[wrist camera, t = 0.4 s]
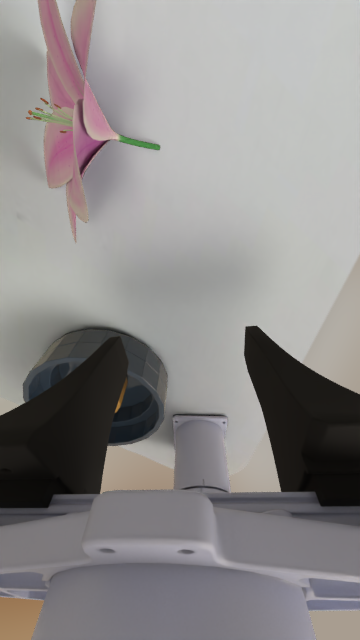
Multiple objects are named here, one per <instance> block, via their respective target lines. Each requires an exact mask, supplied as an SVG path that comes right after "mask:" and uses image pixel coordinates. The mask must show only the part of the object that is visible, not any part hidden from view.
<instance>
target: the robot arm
mask: <svg viewBox="0 0 360 640" xmlns="http://www.w3.org/2000/svg"><path fill="white" fill-rule="evenodd" d="M244 356H245V360H246V365H247V369H248V372H249V375H250V378H251V381H252V383H253V386H254V389H255V391H256V394H257V397H258V399H259V402H260V405H261V408H262V411H263V415H264V419H265V422H266V426H267V430H268V434H269V438H270V442H271V447H272V451H273V455H274V460H275V464H276V468H277V473H278V478H279V483H280V487H281V492H245V493H231V488H230V480H229V473H228V465H227V458H226V450H225V443H224V441H225V435H226V429H227V423H228V418H227V417H226V416H180V415H176V416H173V431H174V447H175V469H174V490H115V491H107V492H103V493H102V494H100V490H101V482H102V475H103V469H104V462H105V457H106V451H107V446H108V440H109V435H110V431H111V426H112V421H113V417H114V414H115V410H116V407H117V404H118V401H119V398H120V395H121V392H122V389H123V386H124V383H125V380H126V376H127V371H128V365H129V361H128V358H127V355H126V352H125V348H124V345H123V342H122V339H121V336H117V337H110V338H109V339H108V340H107V341H105V342H104V343H103V344H102V345H101V346H100V347H99V348H98V349H97V350H96V351H95V352H94V353H93V354H92V355H91V356H90V357H88V358H87V359H86V360H85V361H84V362H83V363H82V364H80V365H79V366H78V367H77V368H76V369H75V370H73V371H72V372H71V373H70V374H68V375H67V376H66V377H65V378H63V379H62V380H60V381H59V382H58V383H56V384H55V385H53V386H52V387H50V388H49V389H47V390H46V391H44V392H43V393H41V394H39V395H38V396H36V397H35V398H33V399H31V400H29V401H28V402H26V403H24V404H22V405H20V406H19V407H17V408H15V409H13V410H11V411H9V412H7V413H5V414H3V415H1V416H0V597H10V598H22V599H34V600H44V603H43V606H42V609H41V612H40V615H39V618H38V621H37V624H36V627H35V630H34V633H33V636H32V639H31V640H316V636H315V633H314V629H313V625H312V622H311V618H310V614H309V611H340V610H341V611H345V610H360V394H358V393H355V392H353V391H351V390H349V389H347V388H344V387H342V386H340V385H338V384H336V383H334V382H332V381H331V380H329V379H327V378H325V377H323V376H321V375H319V374H318V373H316V372H314V371H313V370H311V369H310V368H308V367H306V366H305V365H303V364H302V363H300V362H299V361H297V360H296V359H295V358H293V357H292V356H291V355H289V354H288V353H287V352H285V351H284V350H283V349H282V348H281V347H280V346H278V345H277V344H276V343H275V342H274V341H273V340H272V339H270V338H269V337H268V336H267V335H266V334H265V333H264V332H263V331H262V330H261V329H260V328H259V327H258V326H248V327H246V329H245V349H244Z"/></svg>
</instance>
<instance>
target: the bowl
mask: <svg viewBox="0 0 360 640" xmlns="http://www.w3.org/2000/svg"><path fill="white" fill-rule="evenodd" d="M117 336H121V339H122V342H123V345H124V348H125V352H126V355H127V358H128V361H129V365H128V371H127V381H128V383H127V386H126V390H125V393H124V396H123V400H122V403H121V406H120V408H119V409H118V411H117V412H116V413H115V414H114V417H113V421H112V426H111V431H110V435H109V440H108V446H118V445H126V444H133V443H135V442H138V441H141V440H144V439H146V438H148V437H149V436H151V435H152V434H153V433H155V432H156V431H157V430H158V429H159V427H160V425H161V423H162V422H163V420H164V415H165V405H166V395H167V373H166V371H165V368H164V366H163V364H162V362H161V360H160V359H159V358H158V357H157V356H156V355H155V354H154V353H153V352H152V350H151V349H150V348H149V347H147V346H145V345H144V344H142V343H140V342H139V341H137V340H135V339H134V338H132V337H130V336H127V335H123V334H120V333H117V332H113V331H110V330H109V331H108V330H94V329H85V330H81V331H76V332H72V333H68V334H66V335H64V336H63V337H61V338H60V339H58V340H57V341H55V342H54V343H53V344H52V345H51V346H50V347H49V349H48V350H47V351H46V352H45V354H44V355H43V356H42V357H41V359H40V360H39V361H38V362H37V364H36V365H35V366H34V367H33V369H32V370H31V371H30V372H29V374H28V376H27V378H26V379H25V381H24V383H23V398H24V401H25V403H26V402H28V401H29V400H31V399H33V398H35V397H36V396H38V395H39V394H41V393H43V392H44V391H46V390H47V389H49V388H50V387H52V386H53V385H55V384H56V383H58V382H59V381H60V380H62V379H63V378H65V377H66V376H67V375H68V374H70V373H71V372H72V371H73V370H75V369H76V368H77V367H78V366H79V365H80V364H82V363H83V362H84V361H85V360H86V359H87V358H88V357H90V356H91V355H92V354H93V353H94V352H95V351H96V350H97V349H98V348H99V347H100V346H101V345H102V344H103V343H104V342H105V341H107V340H108V339H109V338H110V337H117Z"/></svg>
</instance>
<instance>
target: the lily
mask: <svg viewBox="0 0 360 640" xmlns="http://www.w3.org/2000/svg"><path fill="white" fill-rule="evenodd" d="M95 5H96V0H76V3H75V5H74V8H73V13H72V18H71V38H72V42H73V45H74V49H75V53H76V56H77V58H78V61H79V63H80V66H81V69H82V71H83V74H84V81H83V79H82V76H81V73H80V71H79V68H78V66H77V63H76V60H75V58H74V55H73V52H72V50H71V47H70V44H69V41H68V38H67V35H66V32H65V29H64V26H63V23H62V20H61V17H60V13H59V10H58V6H57V3H56V0H38V6H39V13H40V20H41V25H42V30H43V34H44V38H45V42H46V46H47V50H48V51H47V78H48V87H49V94H50V100H51V106H52V107H51V106H49V105H48V104H49V103H48V102H47V101H46V100H44V99H42V98H40V99H41V100H42V101H44V103H45V104H46V105H47V106H49V107H50V108H51V109H52V110H53V113H52V114H50V113H47V112H45V111H43V109H40V108H35V109H36V110H39V111H41V112H43V113H46V114H48V115H50V116H47V115H43V114H39V113H35V112H32V111H31V110H29V111H28V113H29V114H30V115H36V116H40V117H36V116H33V117H34V118H31V117H26V119H33V120H39V121H45V122H47V124H46V126H45V134H44V158H45V168H46V175H47V181H48V186H49V188H58V187H61V186H62V185H64V184H66V183H67V184H66V196H67V206H68V212H69V219H70V223H71V228H72V233H73V236H74V240H75V242H76V215H77V216H78V217H79V218H80V219H81V220H82V221H83V222H85V223H87V221H88V220H89V219H88V209H87V204H86V200H85V195H84V190H83V186H82V181H81V180H82V178H83V175H84V173H85V171H86V170H87V168H88V166H89V165H90V163H91V162H92V160H93V159H94V158H95V156H96V155H97V154H98V152H99V151H100V150H101V149H102V148H103V147H104V146H105V144H106V143H107V142H108V141H110V140H116V141H120V142H123V143H127V144H131V145H135V146H139V147H144V148H149V149H155V150H159V149H160V146H159V145H157V144H152V143H147V142H143V141H138V140H134V139H131V138H127V137H124V136H122V135H119V134H117V133H115V132H114V131H113V130H112V129H111V127H110V126H109V124H108V122H107V120H106V118H105V116H104V115H103V113H102V111H101V109H100V107H99V105H98V103H97V101H96V99H95V97H94V95H93V93H92V91H91V88H90V86H89V84H88V82H87V80H86V78H85V77H86V69H87V61H88V52H89V46H90V39H91V32H92V25H93V18H94V12H95ZM42 117H44V118H42ZM47 118H48V119H47ZM42 119H44V120H42Z"/></svg>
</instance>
